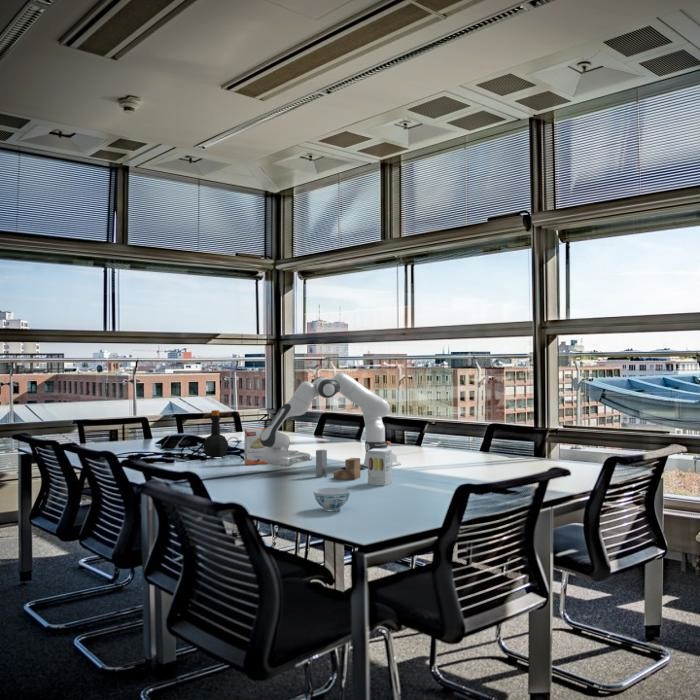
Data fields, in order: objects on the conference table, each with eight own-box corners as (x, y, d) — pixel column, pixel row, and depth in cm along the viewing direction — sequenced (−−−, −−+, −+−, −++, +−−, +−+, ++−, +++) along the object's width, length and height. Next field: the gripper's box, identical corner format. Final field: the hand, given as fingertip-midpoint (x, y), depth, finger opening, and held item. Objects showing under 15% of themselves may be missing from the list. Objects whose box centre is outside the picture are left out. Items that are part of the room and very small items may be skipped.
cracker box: (246, 465, 416) (246, 429, 416) (244, 464, 422) (243, 429, 422) (270, 464, 421) (269, 428, 422) (267, 462, 427) (266, 427, 427)
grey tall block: (316, 477, 373) (315, 450, 373) (321, 476, 376) (320, 449, 376) (322, 477, 370) (321, 450, 370) (327, 476, 373) (326, 450, 373)
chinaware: (351, 505, 298) (351, 487, 298) (349, 513, 283) (348, 494, 283) (315, 505, 299) (315, 487, 299) (311, 513, 284) (311, 494, 284)
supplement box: (367, 484, 348) (366, 450, 348) (374, 481, 356) (374, 448, 357) (385, 486, 344) (385, 451, 344) (392, 482, 352) (391, 448, 353)
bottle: (208, 460, 442) (207, 411, 442) (199, 457, 456) (199, 410, 456) (232, 458, 450) (232, 410, 450) (223, 455, 464) (222, 409, 464)
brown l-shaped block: (333, 478, 367) (333, 459, 367) (339, 476, 374) (339, 457, 374) (354, 479, 362) (354, 460, 363) (360, 477, 370) (360, 458, 370)
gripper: (272, 454, 381) (292, 456, 372) (298, 450, 397) (317, 452, 388) (273, 466, 381) (292, 468, 372) (299, 461, 397) (317, 463, 388)
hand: (305, 460), depth 380 cm, fingers open, 8 cm apart
